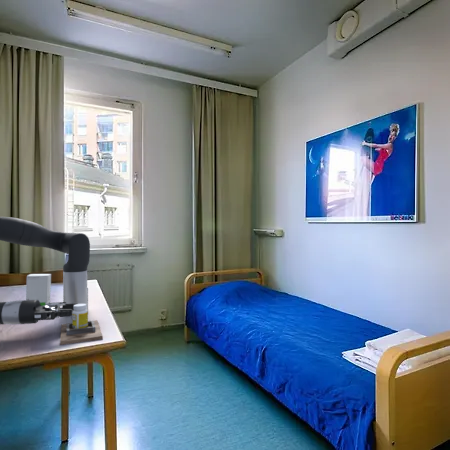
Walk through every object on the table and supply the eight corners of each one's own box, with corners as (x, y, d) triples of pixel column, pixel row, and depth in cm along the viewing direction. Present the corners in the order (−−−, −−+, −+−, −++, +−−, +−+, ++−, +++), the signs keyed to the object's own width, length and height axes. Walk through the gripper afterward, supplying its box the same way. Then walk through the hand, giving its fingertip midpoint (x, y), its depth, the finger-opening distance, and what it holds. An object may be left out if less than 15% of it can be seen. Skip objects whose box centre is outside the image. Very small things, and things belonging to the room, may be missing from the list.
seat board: (61, 327, 118) (61, 320, 118) (97, 322, 123) (97, 316, 123) (60, 345, 100) (60, 336, 100) (102, 339, 105) (102, 331, 105)
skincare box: (25, 313, 137) (25, 276, 138) (29, 310, 144) (29, 273, 144) (47, 312, 140) (47, 275, 140) (51, 308, 146) (51, 273, 146)
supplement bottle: (90, 327, 114) (90, 303, 114) (84, 332, 109) (84, 306, 109) (75, 328, 114) (75, 303, 114) (69, 332, 109) (69, 306, 109)
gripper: (12, 305, 101) (69, 302, 105) (29, 296, 115) (79, 294, 119) (12, 330, 101) (69, 326, 104) (29, 317, 115) (80, 315, 118)
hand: (75, 309), depth 111 cm, fingers open, 8 cm apart
